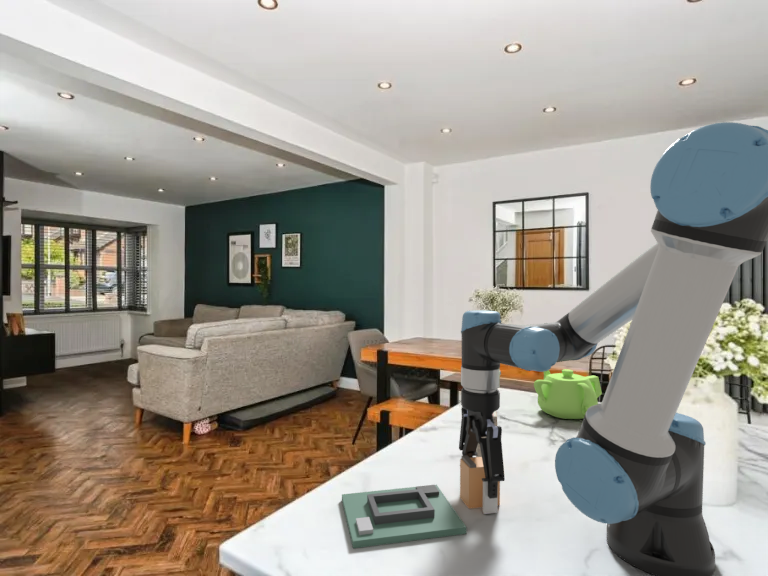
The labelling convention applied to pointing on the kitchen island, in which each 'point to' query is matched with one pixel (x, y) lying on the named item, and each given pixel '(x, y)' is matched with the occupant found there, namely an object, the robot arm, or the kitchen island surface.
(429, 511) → the header board
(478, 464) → the plug
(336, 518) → the kitchen island surface
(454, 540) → the kitchen island surface
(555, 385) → the teapot
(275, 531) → the kitchen island surface
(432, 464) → the kitchen island surface
